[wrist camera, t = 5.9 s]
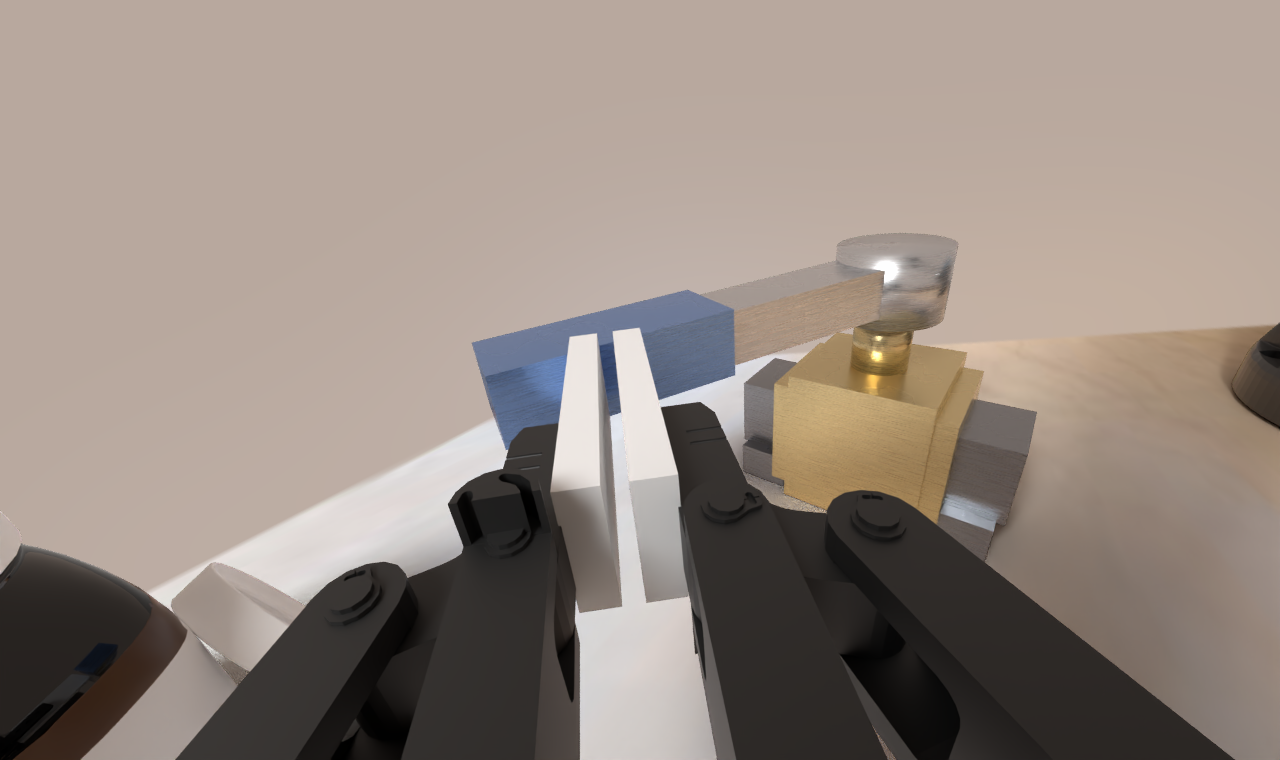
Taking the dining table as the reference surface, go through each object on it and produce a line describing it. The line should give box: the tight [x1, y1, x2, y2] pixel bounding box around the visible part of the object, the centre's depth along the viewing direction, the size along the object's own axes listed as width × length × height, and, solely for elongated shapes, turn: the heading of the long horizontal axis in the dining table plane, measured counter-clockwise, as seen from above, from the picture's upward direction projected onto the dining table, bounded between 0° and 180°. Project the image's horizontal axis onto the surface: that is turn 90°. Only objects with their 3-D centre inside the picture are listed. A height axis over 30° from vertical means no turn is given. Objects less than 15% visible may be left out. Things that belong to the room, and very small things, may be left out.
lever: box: [472, 233, 958, 450], centre depth 17 cm, size 4×19×3 cm, turn 115°
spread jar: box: [0, 511, 306, 760], centre depth 13 cm, size 12×11×12 cm
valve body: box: [743, 327, 1037, 562], centre depth 23 cm, size 12×6×9 cm, turn 49°
